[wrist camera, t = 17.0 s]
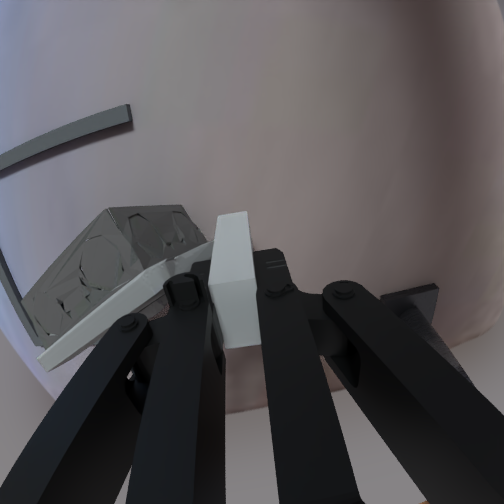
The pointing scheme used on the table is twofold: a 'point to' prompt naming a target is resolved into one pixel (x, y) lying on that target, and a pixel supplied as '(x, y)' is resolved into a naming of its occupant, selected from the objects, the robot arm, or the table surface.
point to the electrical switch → (111, 276)
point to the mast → (421, 317)
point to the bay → (35, 147)
